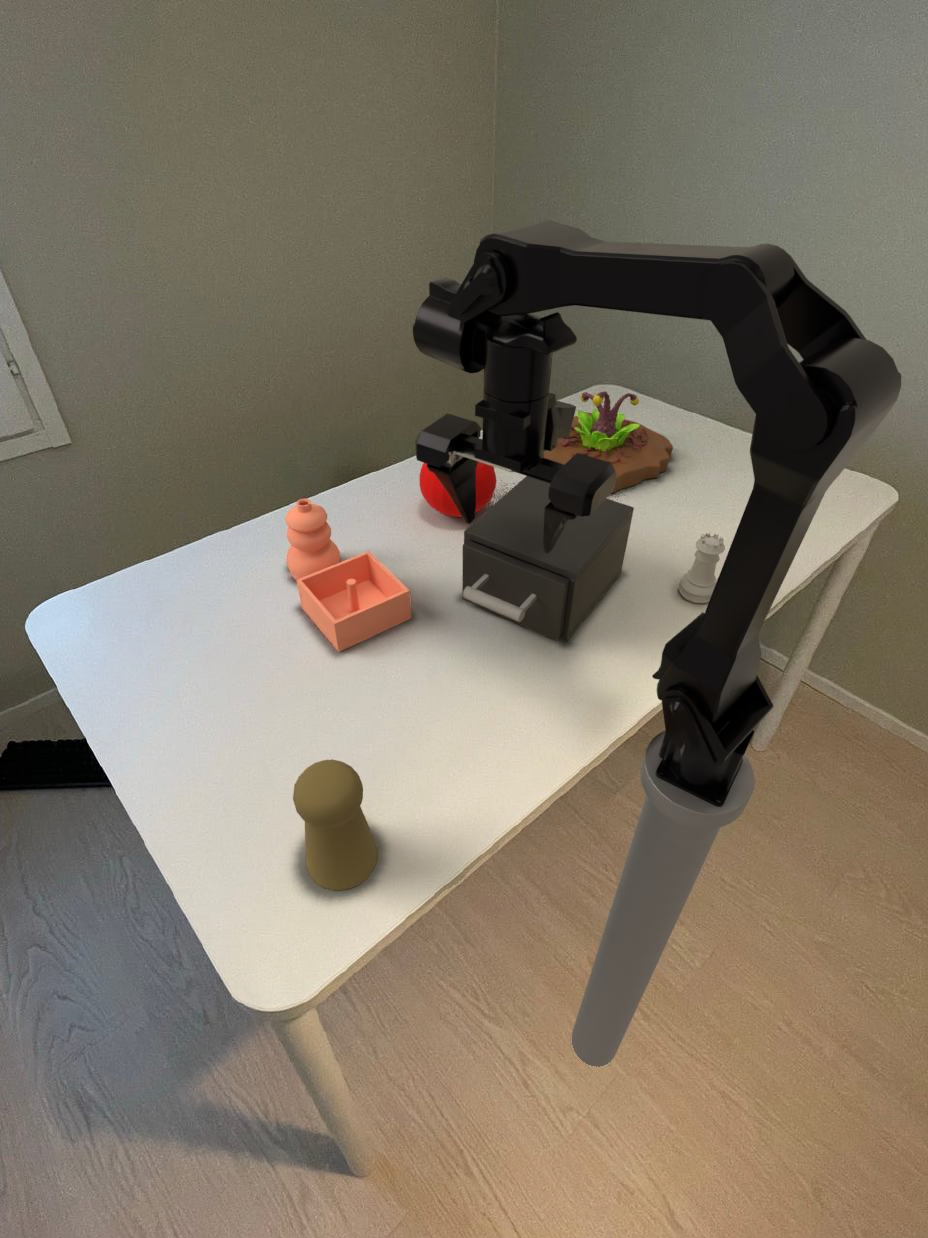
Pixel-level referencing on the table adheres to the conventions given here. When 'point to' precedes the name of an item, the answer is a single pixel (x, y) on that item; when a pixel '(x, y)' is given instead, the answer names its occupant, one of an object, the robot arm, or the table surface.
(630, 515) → the dark grey drawer box
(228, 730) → the table surface
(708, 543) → the rook chess piece
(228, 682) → the table surface
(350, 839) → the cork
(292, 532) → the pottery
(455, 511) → the tomato
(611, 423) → the plant
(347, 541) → the table surface
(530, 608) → the dark grey drawer
